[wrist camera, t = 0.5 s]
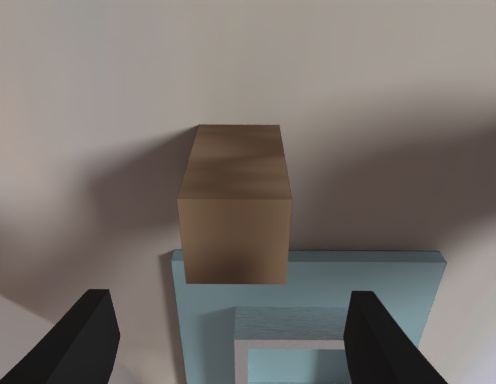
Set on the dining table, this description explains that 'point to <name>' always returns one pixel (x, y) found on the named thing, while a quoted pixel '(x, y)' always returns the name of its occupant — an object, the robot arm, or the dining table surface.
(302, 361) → the board
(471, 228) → the dining table surface
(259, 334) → the socket
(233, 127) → the peg
